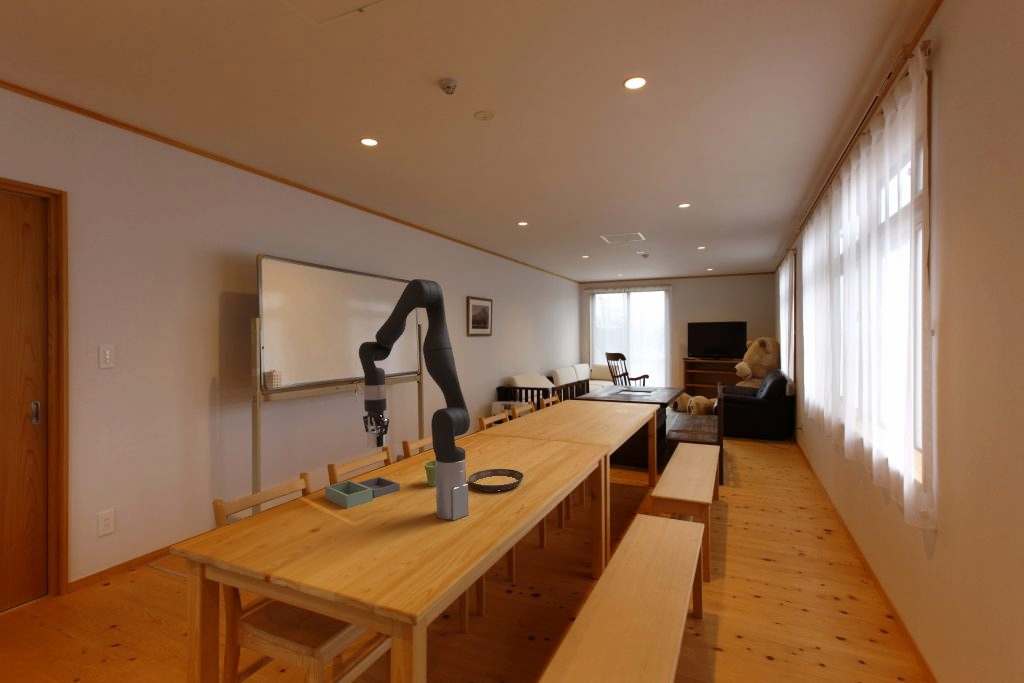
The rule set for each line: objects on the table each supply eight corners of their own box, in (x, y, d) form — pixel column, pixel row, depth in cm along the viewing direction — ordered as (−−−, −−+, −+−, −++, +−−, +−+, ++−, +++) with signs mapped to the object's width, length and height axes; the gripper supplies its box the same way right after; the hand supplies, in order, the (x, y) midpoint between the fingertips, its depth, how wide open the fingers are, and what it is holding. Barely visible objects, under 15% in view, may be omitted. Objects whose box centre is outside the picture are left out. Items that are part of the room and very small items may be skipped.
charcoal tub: (399, 493, 166) (399, 483, 166) (374, 500, 159) (374, 490, 159) (379, 485, 175) (379, 476, 175) (355, 492, 168) (354, 483, 168)
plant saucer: (459, 491, 168) (459, 482, 168) (480, 474, 188) (480, 466, 188) (513, 496, 162) (513, 487, 162) (530, 478, 181) (530, 470, 181)
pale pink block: (385, 445, 167) (385, 431, 167) (373, 448, 164) (372, 434, 164) (379, 444, 170) (379, 430, 170) (367, 446, 166) (366, 432, 166)
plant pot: (436, 492, 166) (436, 468, 166) (418, 487, 172) (418, 464, 172) (454, 485, 174) (454, 462, 174) (437, 481, 180) (436, 458, 179)
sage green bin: (372, 503, 156) (372, 488, 156) (347, 511, 150) (347, 496, 150) (349, 494, 166) (349, 480, 166) (325, 501, 160) (325, 486, 160)
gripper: (395, 397, 165) (396, 446, 165) (373, 395, 174) (375, 441, 174) (376, 400, 159) (378, 450, 159) (355, 397, 169) (356, 444, 169)
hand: (376, 445), depth 167 cm, fingers closed on pale pink block, 4 cm apart
